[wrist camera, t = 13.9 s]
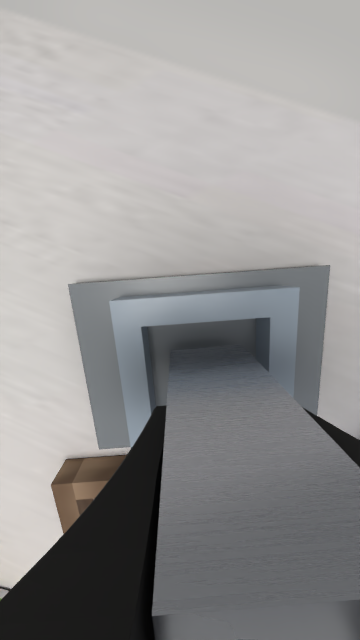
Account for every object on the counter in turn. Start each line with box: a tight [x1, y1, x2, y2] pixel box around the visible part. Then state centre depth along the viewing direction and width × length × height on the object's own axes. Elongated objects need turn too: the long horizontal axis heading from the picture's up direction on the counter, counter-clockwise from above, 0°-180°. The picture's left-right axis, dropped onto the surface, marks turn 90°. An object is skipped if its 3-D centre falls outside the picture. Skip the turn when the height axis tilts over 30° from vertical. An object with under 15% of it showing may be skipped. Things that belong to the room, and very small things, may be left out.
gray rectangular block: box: [152, 345, 360, 640], centre depth 7 cm, size 4×4×9 cm
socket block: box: [51, 455, 127, 533], centre depth 17 cm, size 9×14×2 cm, turn 4°
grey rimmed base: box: [68, 265, 330, 449], centre depth 13 cm, size 16×12×3 cm
